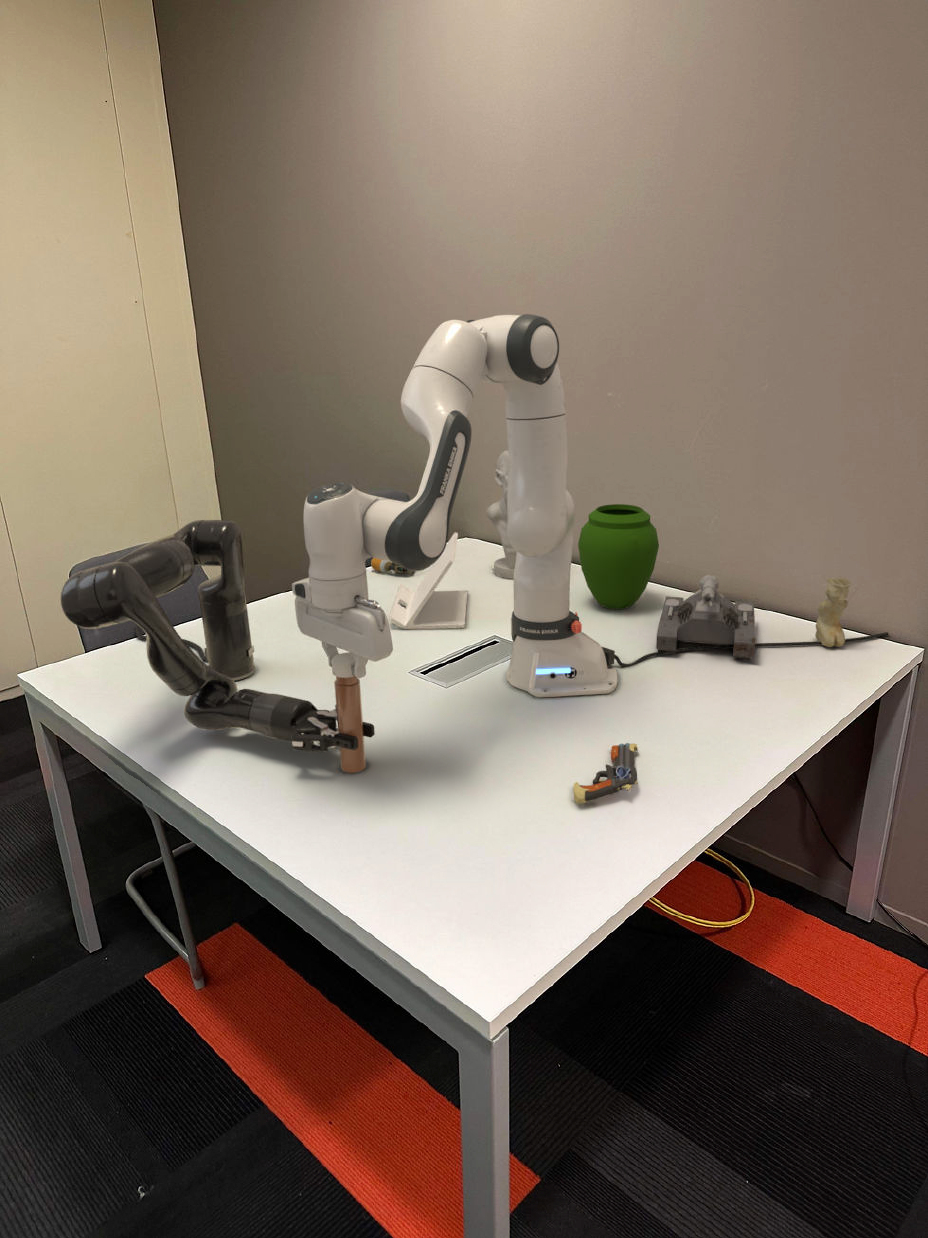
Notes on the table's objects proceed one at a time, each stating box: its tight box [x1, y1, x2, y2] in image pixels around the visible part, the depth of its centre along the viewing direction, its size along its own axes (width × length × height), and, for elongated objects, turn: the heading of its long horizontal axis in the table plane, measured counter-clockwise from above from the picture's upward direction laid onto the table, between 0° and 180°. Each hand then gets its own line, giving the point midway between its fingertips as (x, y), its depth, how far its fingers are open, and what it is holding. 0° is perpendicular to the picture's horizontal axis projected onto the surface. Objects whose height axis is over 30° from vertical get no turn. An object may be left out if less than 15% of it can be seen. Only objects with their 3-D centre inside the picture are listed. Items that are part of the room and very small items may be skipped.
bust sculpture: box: [485, 449, 517, 579], centre depth 231 cm, size 16×24×35 cm
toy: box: [655, 574, 756, 660], centre depth 189 cm, size 25×20×15 cm
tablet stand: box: [388, 531, 468, 630], centre depth 211 cm, size 18×25×17 cm
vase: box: [577, 503, 660, 610], centre depth 210 cm, size 20×20×24 cm
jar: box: [334, 676, 367, 774], centre depth 141 cm, size 4×4×18 cm
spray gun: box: [370, 557, 413, 574], centre depth 248 cm, size 4×17×15 cm
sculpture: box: [814, 576, 852, 648], centre depth 185 cm, size 6×7×15 cm
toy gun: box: [572, 742, 639, 805], centre depth 138 cm, size 3×19×10 cm
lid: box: [331, 651, 356, 678], centre depth 137 cm, size 5×5×2 cm
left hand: (364, 737), depth 140 cm, fingers closed on jar, 4 cm apart
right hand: (347, 671), depth 137 cm, fingers closed on lid, 4 cm apart
